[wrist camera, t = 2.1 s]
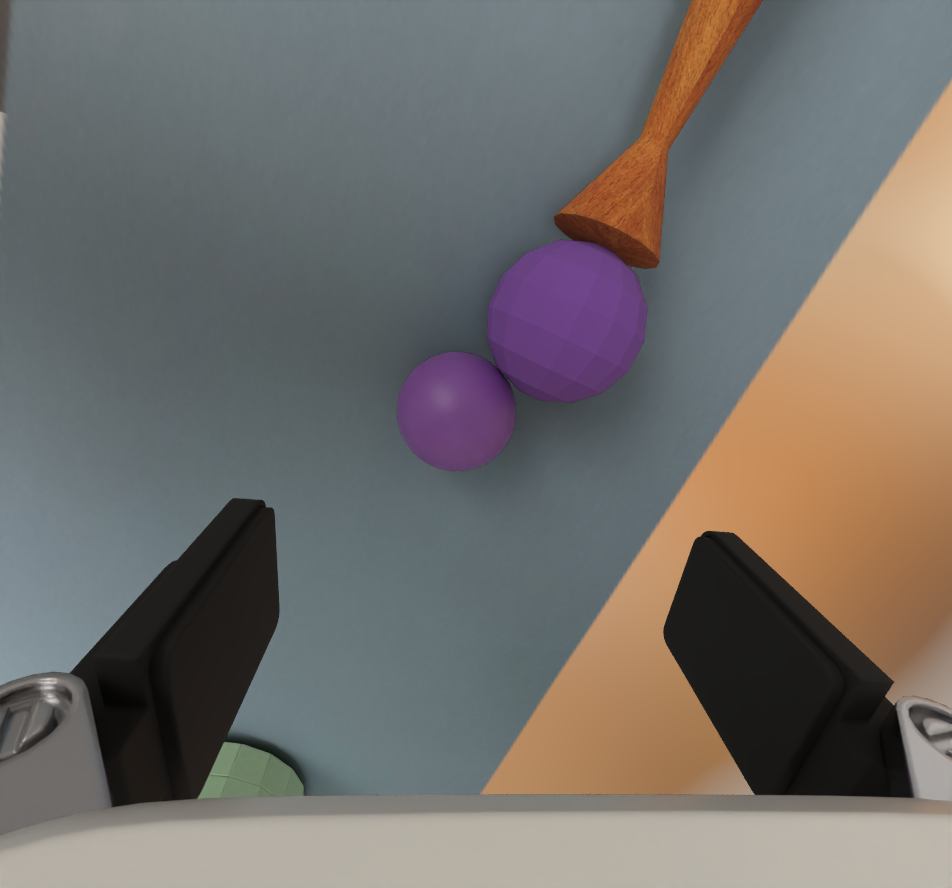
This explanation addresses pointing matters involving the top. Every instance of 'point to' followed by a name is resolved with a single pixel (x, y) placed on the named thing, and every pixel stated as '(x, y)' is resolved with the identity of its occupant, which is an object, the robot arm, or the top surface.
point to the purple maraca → (607, 240)
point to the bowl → (249, 775)
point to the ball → (456, 411)
